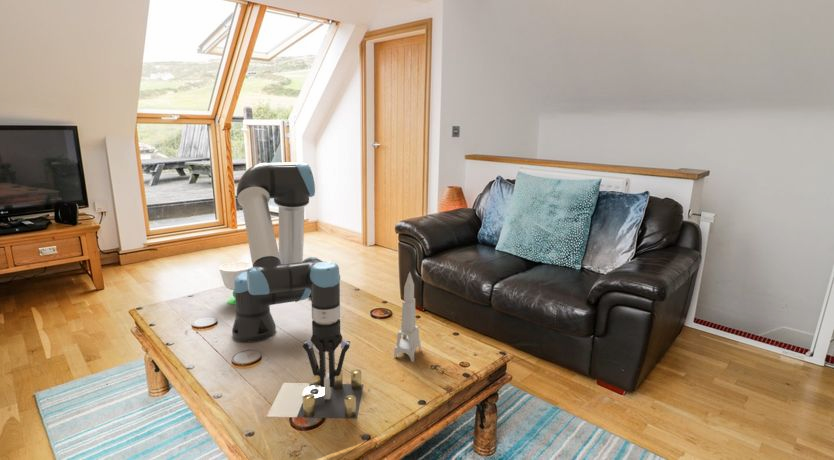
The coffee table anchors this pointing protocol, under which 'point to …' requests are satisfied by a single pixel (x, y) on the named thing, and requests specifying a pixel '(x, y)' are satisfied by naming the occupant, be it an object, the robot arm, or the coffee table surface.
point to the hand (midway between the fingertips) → (327, 396)
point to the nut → (315, 393)
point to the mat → (292, 406)
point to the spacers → (348, 400)
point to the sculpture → (408, 323)
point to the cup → (233, 274)
